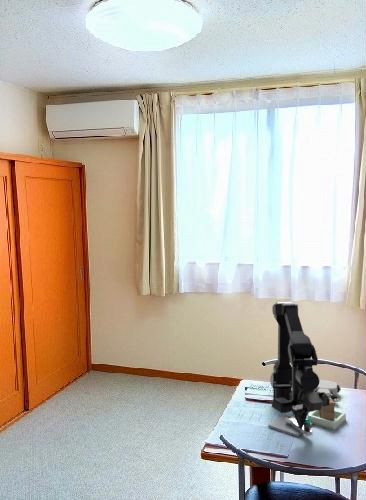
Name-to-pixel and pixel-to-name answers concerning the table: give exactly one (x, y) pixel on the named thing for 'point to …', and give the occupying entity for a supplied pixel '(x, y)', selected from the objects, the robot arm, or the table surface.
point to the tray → (338, 420)
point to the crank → (292, 422)
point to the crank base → (285, 426)
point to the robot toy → (329, 389)
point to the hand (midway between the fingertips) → (300, 428)
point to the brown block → (327, 411)
